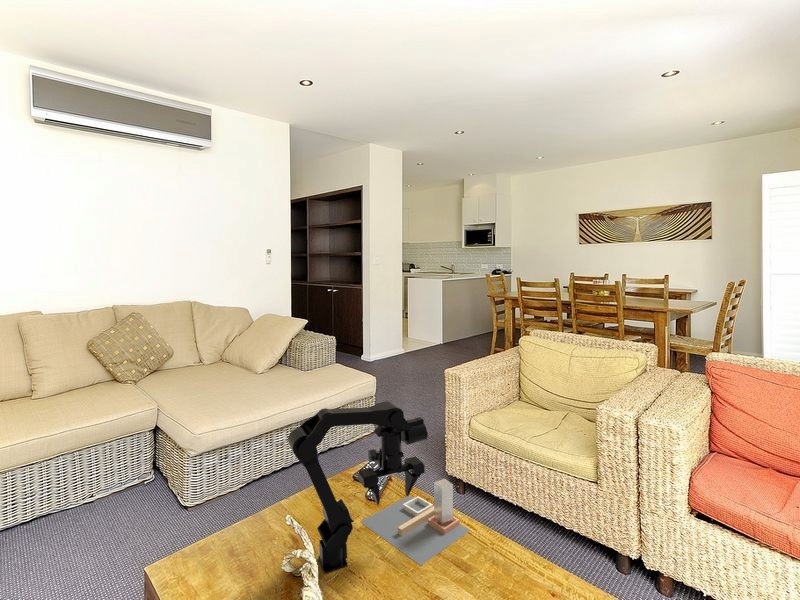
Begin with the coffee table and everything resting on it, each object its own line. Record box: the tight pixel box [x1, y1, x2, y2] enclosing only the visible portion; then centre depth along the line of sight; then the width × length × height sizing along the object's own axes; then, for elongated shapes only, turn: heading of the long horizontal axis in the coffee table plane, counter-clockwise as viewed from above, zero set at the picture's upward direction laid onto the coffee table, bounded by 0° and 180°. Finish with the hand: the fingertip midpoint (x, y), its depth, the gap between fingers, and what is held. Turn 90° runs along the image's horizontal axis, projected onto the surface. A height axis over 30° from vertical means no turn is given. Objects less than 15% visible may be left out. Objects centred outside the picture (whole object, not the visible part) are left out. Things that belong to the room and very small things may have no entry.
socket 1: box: [403, 495, 434, 516], centre depth 140 cm, size 7×7×2 cm
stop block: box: [433, 478, 454, 528], centre depth 131 cm, size 4×4×13 cm
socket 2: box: [428, 515, 461, 534], centre depth 131 cm, size 7×7×2 cm
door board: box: [360, 494, 472, 566], centre depth 131 cm, size 21×26×4 cm
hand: (392, 499), depth 124 cm, fingers open, 9 cm apart
